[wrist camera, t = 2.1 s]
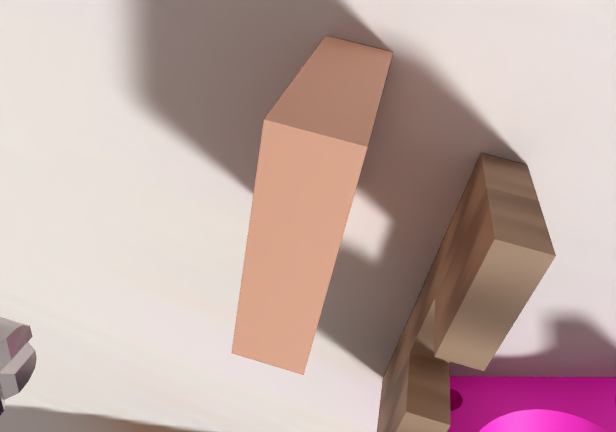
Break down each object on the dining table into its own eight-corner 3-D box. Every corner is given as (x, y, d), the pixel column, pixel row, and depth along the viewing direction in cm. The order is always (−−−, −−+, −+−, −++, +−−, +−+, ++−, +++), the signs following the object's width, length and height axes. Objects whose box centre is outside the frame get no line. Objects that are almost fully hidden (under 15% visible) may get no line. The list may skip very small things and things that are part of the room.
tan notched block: (288, 222, 32) (231, 353, 23) (325, 35, 25) (263, 119, 16) (341, 236, 32) (303, 374, 23) (393, 52, 25) (367, 146, 16)
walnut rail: (480, 152, 27) (494, 239, 20) (527, 164, 27) (555, 255, 20) (382, 378, 38) (371, 479, 32) (414, 387, 38) (409, 491, 32)
